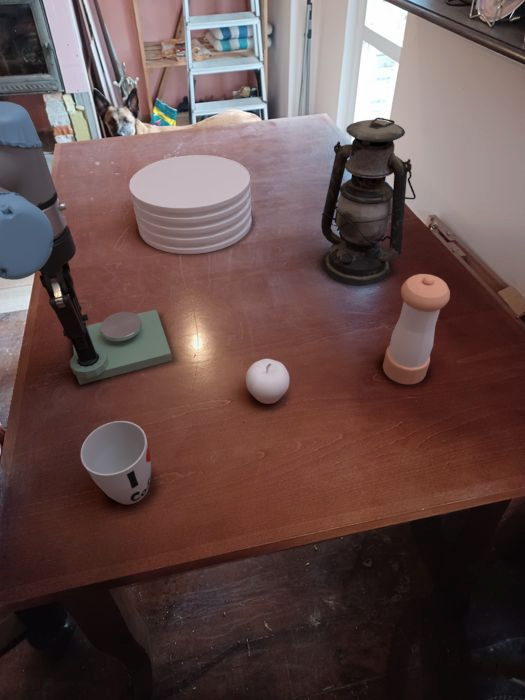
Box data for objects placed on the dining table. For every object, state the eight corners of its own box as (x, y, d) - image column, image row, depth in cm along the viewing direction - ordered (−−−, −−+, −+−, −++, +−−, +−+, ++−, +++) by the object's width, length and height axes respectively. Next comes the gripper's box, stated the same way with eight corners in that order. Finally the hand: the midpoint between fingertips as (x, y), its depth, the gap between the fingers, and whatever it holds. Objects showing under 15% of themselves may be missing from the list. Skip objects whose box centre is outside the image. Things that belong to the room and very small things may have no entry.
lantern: (301, 266, 105) (308, 124, 84) (345, 230, 116) (360, 95, 95) (378, 297, 96) (407, 147, 76) (418, 255, 107) (452, 113, 86)
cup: (141, 522, 63) (125, 483, 56) (89, 504, 65) (67, 464, 58) (169, 471, 68) (157, 429, 62) (120, 456, 70) (103, 414, 63)
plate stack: (122, 249, 111) (110, 203, 103) (159, 194, 131) (151, 152, 123) (239, 258, 108) (237, 211, 100) (259, 200, 127) (258, 157, 119)
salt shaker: (388, 349, 86) (410, 258, 72) (429, 361, 83) (459, 270, 70) (377, 376, 81) (398, 285, 68) (420, 390, 79) (450, 298, 65)
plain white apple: (269, 419, 75) (269, 385, 69) (237, 395, 78) (235, 361, 73) (298, 393, 79) (300, 359, 73) (266, 372, 82) (266, 338, 77)
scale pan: (77, 351, 82) (76, 348, 81) (74, 321, 87) (72, 318, 87) (145, 335, 84) (144, 331, 84) (137, 306, 90) (136, 303, 90)
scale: (77, 389, 80) (71, 375, 78) (71, 337, 89) (65, 323, 87) (173, 364, 84) (170, 350, 81) (158, 316, 93) (155, 302, 91)
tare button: (82, 372, 80) (79, 366, 79) (80, 360, 82) (77, 354, 81) (100, 368, 81) (98, 361, 79) (98, 356, 83) (96, 349, 81)
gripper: (72, 250, 60) (115, 377, 76) (65, 204, 69) (105, 327, 85) (8, 263, 58) (67, 390, 75) (10, 214, 67) (62, 337, 84)
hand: (87, 356), depth 80 cm, fingers closed
